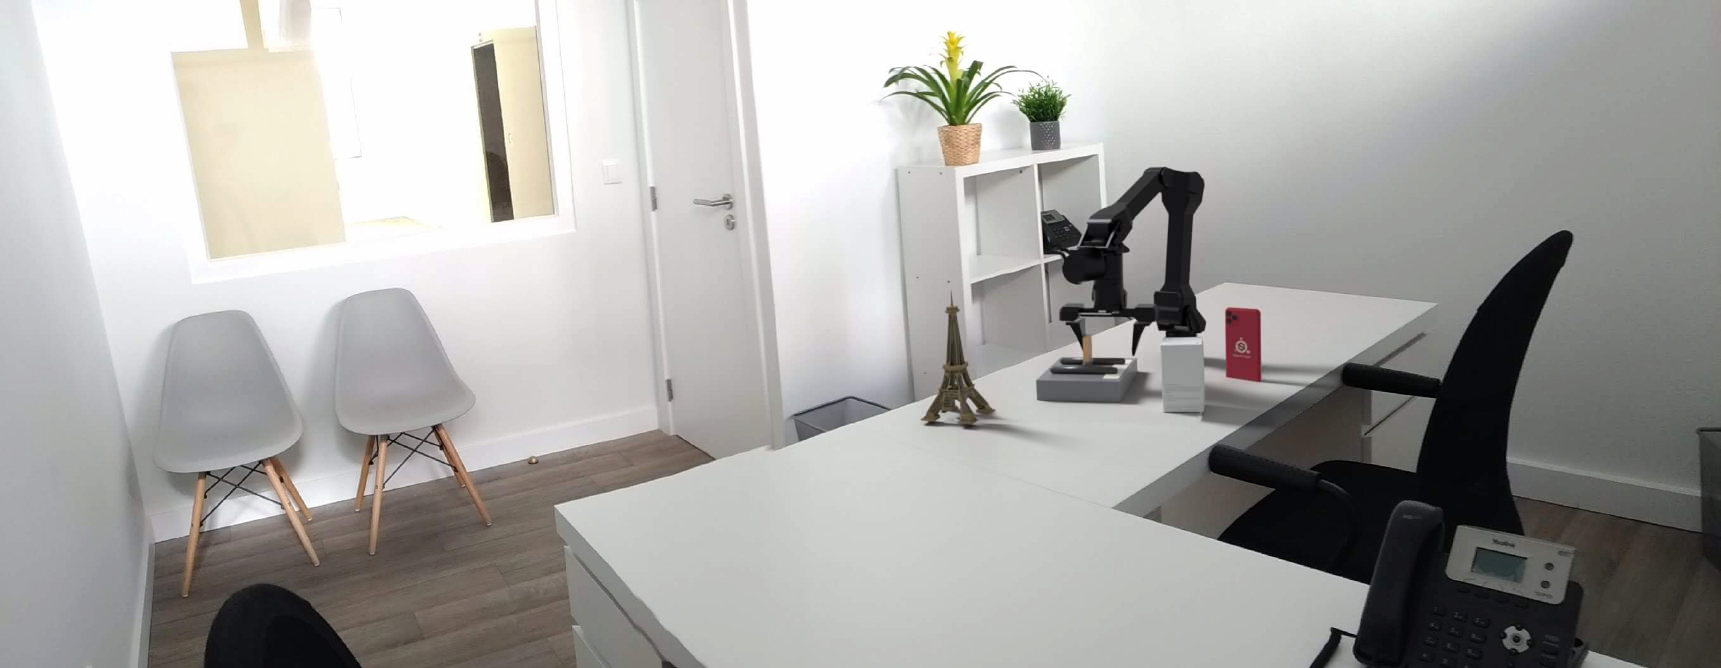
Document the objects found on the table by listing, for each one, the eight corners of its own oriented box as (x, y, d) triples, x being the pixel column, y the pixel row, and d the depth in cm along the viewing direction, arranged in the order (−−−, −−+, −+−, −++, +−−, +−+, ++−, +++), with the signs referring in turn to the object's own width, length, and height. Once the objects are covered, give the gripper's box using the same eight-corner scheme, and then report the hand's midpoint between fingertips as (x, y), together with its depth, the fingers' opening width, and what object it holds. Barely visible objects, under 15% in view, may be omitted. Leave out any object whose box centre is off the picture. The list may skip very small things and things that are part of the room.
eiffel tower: (945, 407, 211) (937, 280, 207) (995, 410, 206) (988, 280, 202) (920, 420, 202) (912, 288, 198) (972, 424, 197) (964, 288, 193)
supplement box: (1205, 403, 200) (1204, 336, 198) (1204, 413, 193) (1203, 343, 191) (1164, 402, 202) (1162, 336, 200) (1161, 412, 195) (1159, 344, 193)
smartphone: (1261, 384, 211) (1261, 309, 208) (1259, 385, 210) (1258, 309, 208) (1227, 380, 216) (1226, 306, 214) (1224, 381, 216) (1223, 307, 213)
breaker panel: (1137, 377, 225) (1136, 351, 224) (1119, 402, 205) (1118, 374, 204) (1061, 375, 231) (1060, 351, 230) (1036, 400, 211) (1035, 373, 210)
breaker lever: (1094, 365, 219) (1093, 333, 218) (1089, 369, 215) (1089, 337, 214) (1086, 365, 220) (1085, 333, 219) (1081, 369, 216) (1080, 337, 215)
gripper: (1162, 272, 216) (1163, 348, 219) (1070, 272, 224) (1071, 346, 226) (1154, 279, 206) (1155, 359, 209) (1057, 279, 214) (1059, 357, 216)
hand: (1109, 355), depth 215 cm, fingers open, 9 cm apart
